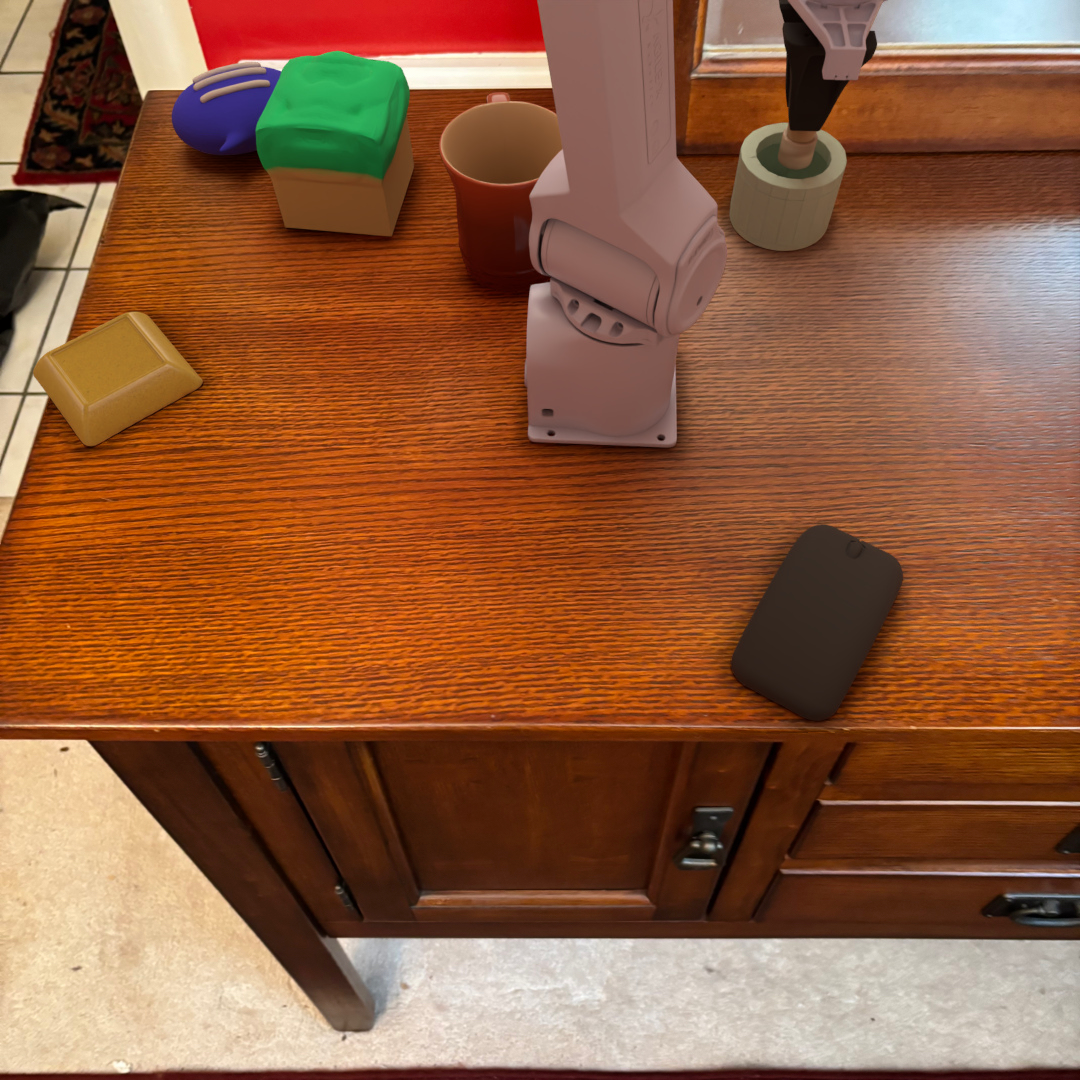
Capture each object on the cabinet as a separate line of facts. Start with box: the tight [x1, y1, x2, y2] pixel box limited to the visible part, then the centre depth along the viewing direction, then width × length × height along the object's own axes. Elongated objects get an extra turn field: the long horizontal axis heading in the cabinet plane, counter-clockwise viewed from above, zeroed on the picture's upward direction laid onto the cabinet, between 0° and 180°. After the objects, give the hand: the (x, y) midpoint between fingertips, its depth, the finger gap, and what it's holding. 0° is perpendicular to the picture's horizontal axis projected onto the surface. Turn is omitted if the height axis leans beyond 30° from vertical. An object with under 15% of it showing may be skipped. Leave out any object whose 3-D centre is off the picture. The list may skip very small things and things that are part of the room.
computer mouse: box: [730, 524, 904, 722], centre depth 54 cm, size 6×11×4 cm, turn 148°
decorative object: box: [171, 61, 282, 156], centre depth 76 cm, size 10×6×10 cm
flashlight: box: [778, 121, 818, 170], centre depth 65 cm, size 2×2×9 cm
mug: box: [438, 91, 563, 294], centre depth 68 cm, size 12×9×10 cm
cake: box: [256, 50, 415, 238], centre depth 71 cm, size 10×11×10 cm
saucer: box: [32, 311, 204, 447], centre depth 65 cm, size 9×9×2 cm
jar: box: [728, 122, 848, 252], centre depth 71 cm, size 7×7×6 cm
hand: (802, 116), depth 66 cm, fingers closed on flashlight, 2 cm apart
